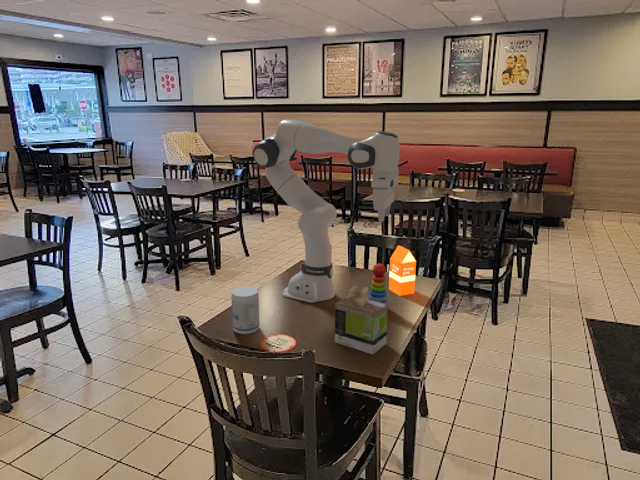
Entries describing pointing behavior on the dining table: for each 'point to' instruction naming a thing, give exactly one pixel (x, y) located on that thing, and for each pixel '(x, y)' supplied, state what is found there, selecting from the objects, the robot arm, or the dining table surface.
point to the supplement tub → (245, 310)
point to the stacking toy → (378, 284)
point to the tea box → (361, 325)
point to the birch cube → (358, 296)
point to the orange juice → (402, 272)
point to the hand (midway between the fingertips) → (384, 218)
